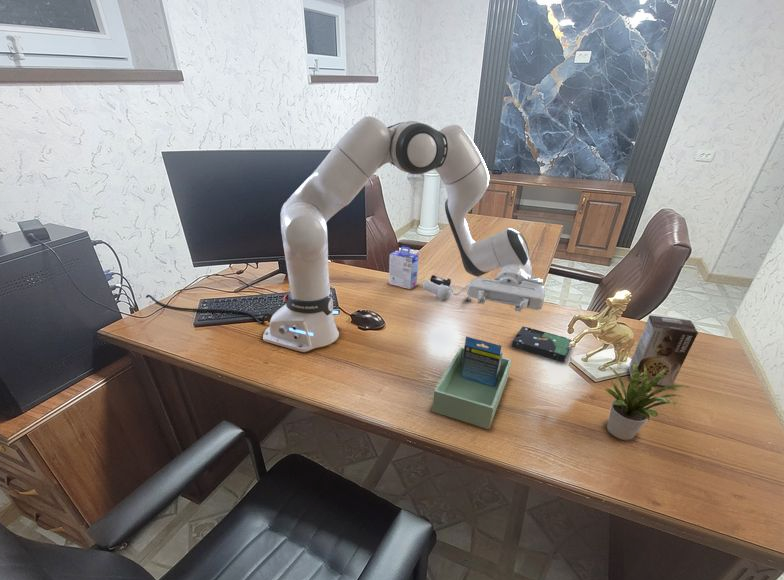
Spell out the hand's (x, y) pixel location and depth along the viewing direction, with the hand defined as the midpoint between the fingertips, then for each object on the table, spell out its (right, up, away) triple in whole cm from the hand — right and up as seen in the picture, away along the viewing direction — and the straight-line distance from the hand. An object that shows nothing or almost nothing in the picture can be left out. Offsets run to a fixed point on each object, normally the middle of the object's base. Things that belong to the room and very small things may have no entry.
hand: (499, 304), depth 100 cm
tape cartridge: (-5, -19, 0) cm, 20 cm away
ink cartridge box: (-23, +13, +50) cm, 57 cm away
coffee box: (+39, -19, +1) cm, 44 cm away
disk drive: (+16, -11, +13) cm, 23 cm away
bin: (-8, -22, -5) cm, 24 cm away
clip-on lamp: (-7, +8, +42) cm, 43 cm away
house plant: (+23, -30, -16) cm, 41 cm away
